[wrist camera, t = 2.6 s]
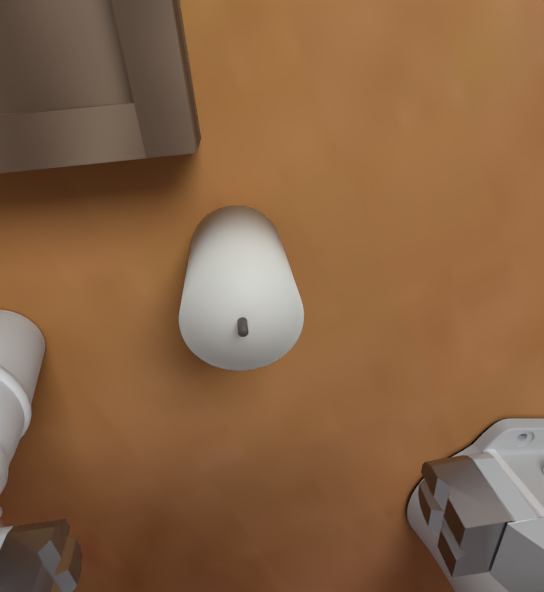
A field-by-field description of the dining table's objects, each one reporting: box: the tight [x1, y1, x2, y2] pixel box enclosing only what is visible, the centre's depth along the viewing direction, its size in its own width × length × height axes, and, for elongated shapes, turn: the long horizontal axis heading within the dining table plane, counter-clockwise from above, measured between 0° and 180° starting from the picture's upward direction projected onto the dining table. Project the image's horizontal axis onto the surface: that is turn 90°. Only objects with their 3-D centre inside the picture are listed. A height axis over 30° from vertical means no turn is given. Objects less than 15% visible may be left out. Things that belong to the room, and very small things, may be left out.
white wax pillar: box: [179, 206, 304, 371], centre depth 19 cm, size 5×5×8 cm
